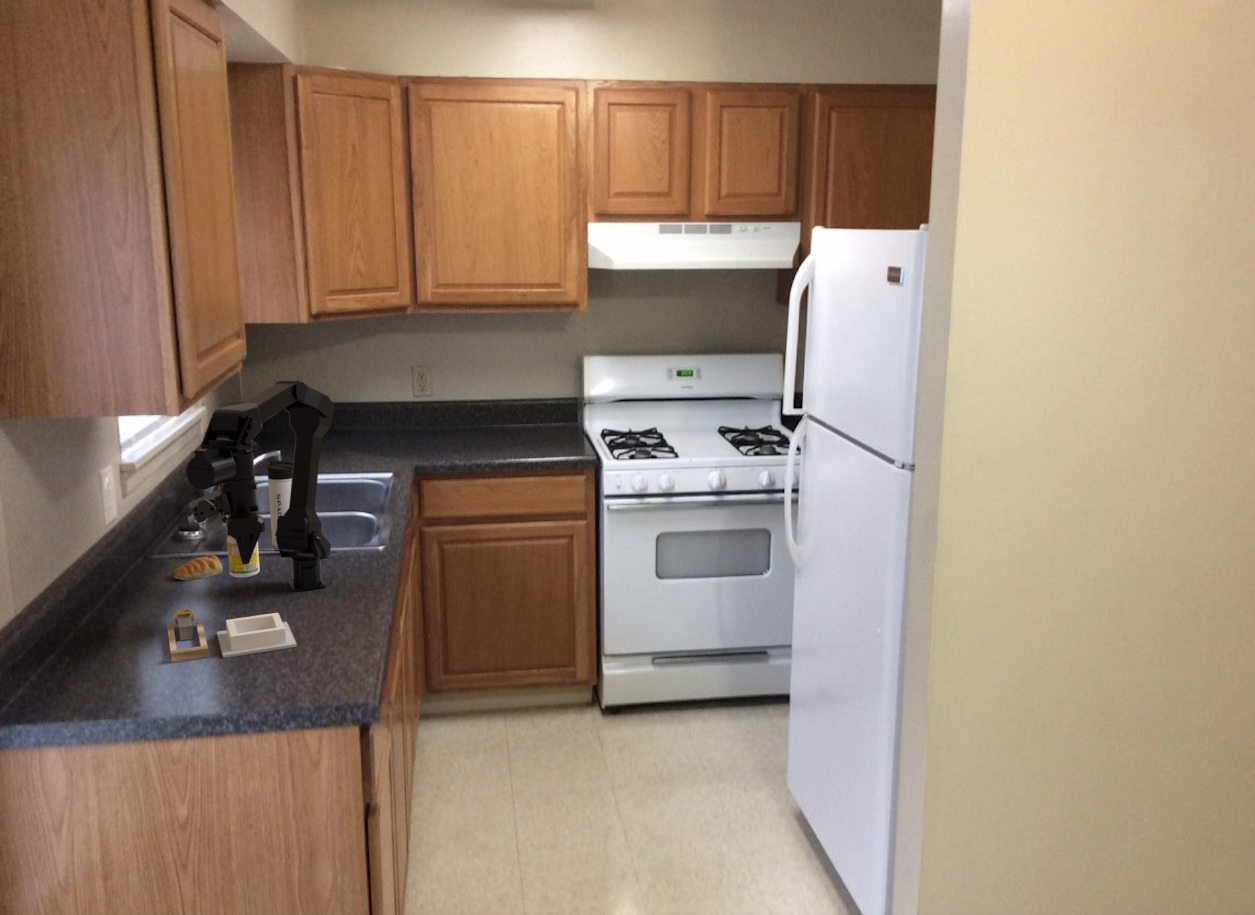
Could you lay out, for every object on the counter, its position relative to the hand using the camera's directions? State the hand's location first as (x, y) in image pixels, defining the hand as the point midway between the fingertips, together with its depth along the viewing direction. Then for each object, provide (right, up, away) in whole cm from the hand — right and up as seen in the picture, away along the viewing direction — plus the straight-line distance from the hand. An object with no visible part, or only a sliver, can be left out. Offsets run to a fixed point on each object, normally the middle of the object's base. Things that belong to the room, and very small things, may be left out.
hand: (243, 559), depth 190 cm
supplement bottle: (0, -3, +1) cm, 3 cm away
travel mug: (-8, -2, +48) cm, 48 cm away
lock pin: (-9, -13, -5) cm, 16 cm away
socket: (+5, -13, -8) cm, 17 cm away
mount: (-6, -14, -9) cm, 18 cm away
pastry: (-20, -6, +28) cm, 35 cm away
